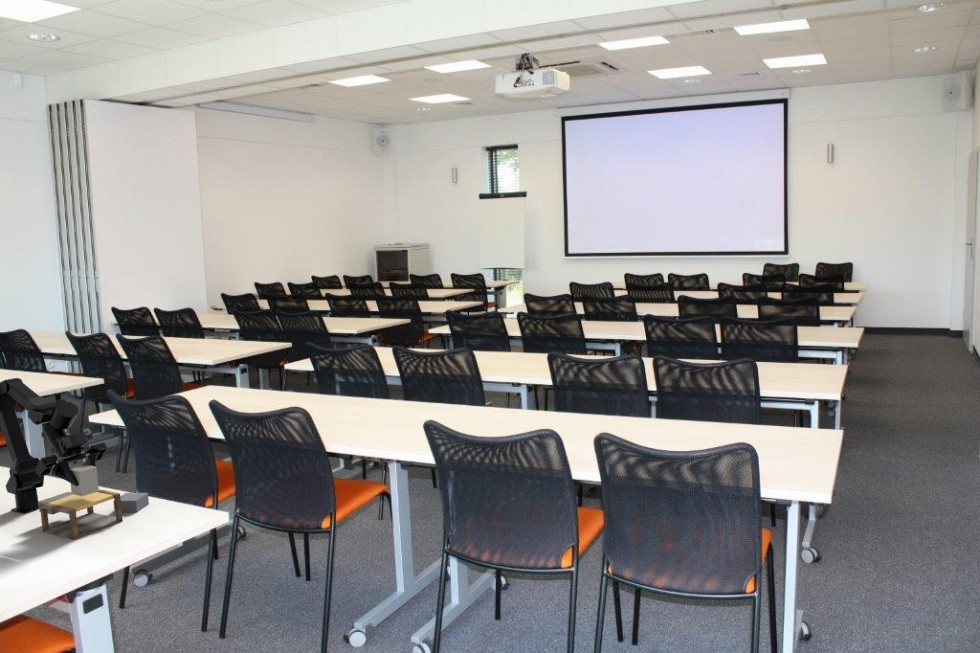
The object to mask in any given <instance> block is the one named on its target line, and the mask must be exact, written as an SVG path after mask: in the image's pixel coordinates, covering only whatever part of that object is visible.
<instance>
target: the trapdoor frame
mask: <svg viewBox="0 0 980 653" xmlns="http://www.w3.org/2000/svg"><path fill="white" fill-rule="evenodd" d="M98 492H100V493H105V494H110V495H113V498H114V499H113V504H114V503H115V512H114V513H115V516H110V515H106V514H100V513H97V512H94V506H91V507H89V508H86V510H87V511H86V512H87V513H85V514H83V515H80V516H77V512H76V509H73V508H69V507H64V506H60V505H55V504H50V503H46V502H42V503H40V511H41V512H40V517H41V518H40V519H41V528H42V533H46V534H50V535H55V536H58V537H62V538H67V539H71V540H77V539H80V538H83V537H85V536H88V535H90V534H93V533H95V532H98V531H101V530H103V529H105V528H108V527H111V526H114V525H116V524H119V523H121V522H123V520H124V519H123V512H122V508H121V497H120V496H121V493H120V492H116V491H111V490H110V491H109V490H105V489H100V488H99V491H98ZM47 509H49V510H53V511H58V512H59V513H64V514H66V515H69V516H68V517H69V519H68V520H65V521H63V522H60V523H57V524H55V525H52V526H50V523H49V521H50V520H49V514H48V512H47Z"/></svg>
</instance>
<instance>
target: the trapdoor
mask: <svg viewBox="0 0 980 653" xmlns="http://www.w3.org/2000/svg"><path fill="white" fill-rule="evenodd" d="M111 500H114V498H113V495H110V494H105V493H100V492H95V493H92V494H88V495H85V496H78V495H74V494H72V493H71V491H70V492H69V491H67V492H63V493H60V494H57V495H54V496H51V497H47V498H45V499H41V500H38V503H39V509H38V510H39V512H40V513H41V511H40V503H42V502H46V503H50V504H55V505H60V506H64V507H69V508H73V509H76V513H77V512H80V511H83V510H85V509H86V510H87V508H89V507H91V506H93V507H94V506H97V505H100V504H103V503H105V502H107V501H108V502H109V501H111ZM47 512H48V515H52V516H53V515H55V514H58V513H60V512H58V511H53V510H49V509H47Z"/></svg>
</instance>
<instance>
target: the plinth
mask: <svg viewBox="0 0 980 653" xmlns="http://www.w3.org/2000/svg"><path fill="white" fill-rule="evenodd" d="M120 497H121V508H122V513H138V512H140V511H141V510H143V509H144V508H146V507H147V506H149V504H150V502H149V492H125V493H123V494H122V495H120ZM113 508H114V513H115V503H114V502H113Z"/></svg>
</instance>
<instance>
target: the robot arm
mask: <svg viewBox="0 0 980 653" xmlns="http://www.w3.org/2000/svg"><path fill="white" fill-rule="evenodd" d="M17 404H19V405H21V406H22V407H23V408H24V409H25V410H26V411H27V417H28V419H29V420H30V421H31V423H33V424H34V425H36V426H38V425H43V424H45V425H44V427H42V431H41V437H42V438H45V437H46V439H47V440H48V442H49V444H50V445H51V449H50V451H51V452H52V453H56V454H51V455H47V456H43V457H41V458H40V459H39V458H38V457H34V456H32V455H31V454H30V452H29V448H28V445H27V442H26V439H25V437H24V433H23V430H22V428H21V424H20V421H19V419H18V416H17V413H16V407H17ZM78 414H79V407H78V406H77V405H76V404H75V403H73V402H71V401H67V400H66V398H61V399H58V400H56V401H55V400H53V399H52V398H48V397H47V398H46V397H42V396H40V395H39V394H38V393H36V391H34V390H32V389H31V388H30V387H29V386H27V385H26V384H25V383H24V381H23V379H21V378H20V377H19V378H18V377H14V378H8V379H7V378H6V379H3V380H1V381H0V428H1V431H2V434H3V438H4V440H5V444H6V446H7V448H8V452H9V455H10V458H11V464H10V467H9V478H8V480H7V482H6V484H5V490H6V492H7V493H8V494H11V495H14V499H15V500H14V501H15V507H14V508H11V509H10V510H11V512H14V513H19V514H23V515H24V514H27V513H30V512H34V511H37V510H39V503H38V501H39V496H38V490H37V489H38V488H43V487H44V483H45V482H44V481H45V476H47V475H51V476H52V477H54V476H55V477H58V478H60V479H62V480H64V481H66V482H68V483H69V484H70V485H71V484H73V485H75V486H78V485H79V483H78V481H77V479H76V477H75V476H74V474H73V472H72V471H71V469H72V468H70V464H69V463H73V462H77V461H80V460H82V461H83V465H90V466H94V467H97V465H96V462H98V461H101V460H103V459H104V457H105V455H106V454H107V452H108V451H109V447H108V445H107V443H106V442H103V441H101V442H96V443H92V444H91V445H90V446H89V447H88V449H87V450H85V451H82V450H84V448H85V444H88V443H89V441H90V440H92V439H93V438H94V435H93V432H92V431H91V428H84V429H82V430H80V432H77V433H71V432H70V430H69V428H71V427H72V425H73V424H74V421H75V420H76V417H77V415H78ZM51 471H52V472H51Z"/></svg>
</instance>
